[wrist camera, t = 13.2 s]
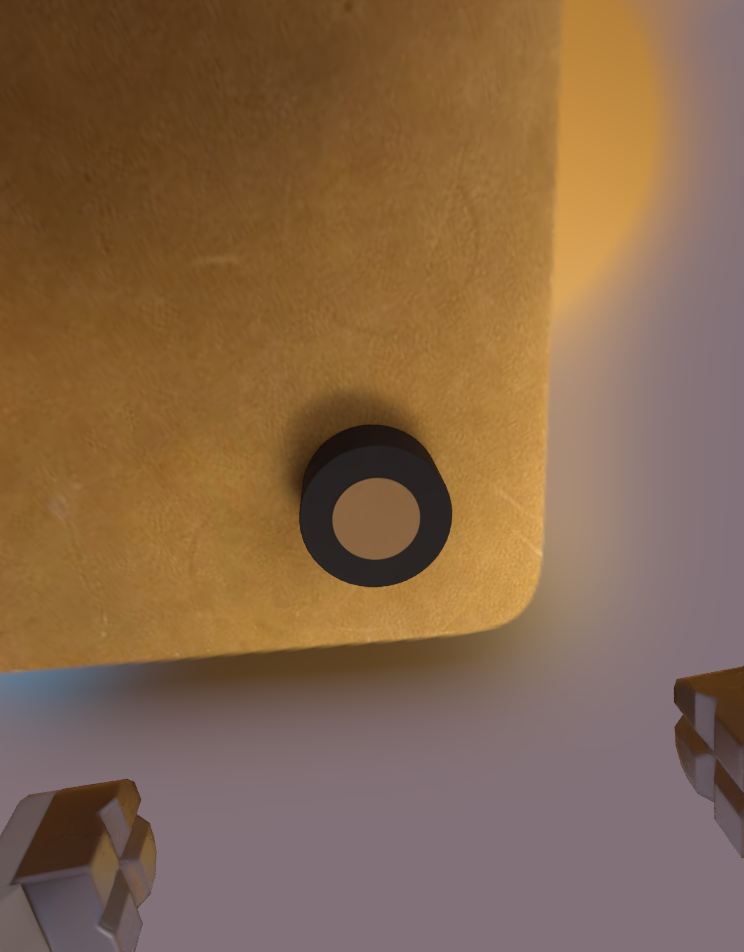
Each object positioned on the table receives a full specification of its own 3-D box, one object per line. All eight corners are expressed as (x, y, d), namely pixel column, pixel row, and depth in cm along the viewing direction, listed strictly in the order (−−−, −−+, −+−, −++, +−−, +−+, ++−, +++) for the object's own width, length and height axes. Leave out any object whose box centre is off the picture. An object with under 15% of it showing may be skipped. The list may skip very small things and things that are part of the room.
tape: (429, 412, 27) (441, 432, 24) (448, 540, 29) (461, 573, 26) (289, 438, 27) (284, 461, 24) (316, 564, 29) (315, 600, 26)
